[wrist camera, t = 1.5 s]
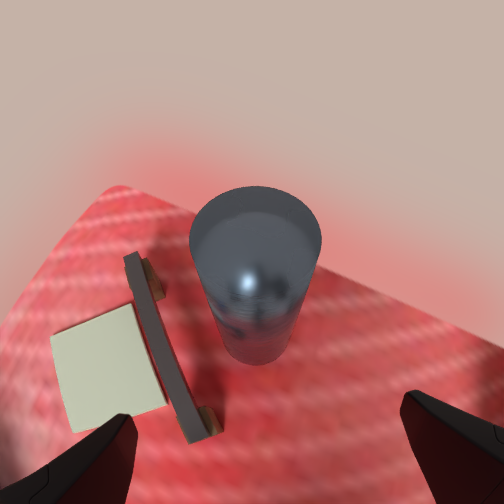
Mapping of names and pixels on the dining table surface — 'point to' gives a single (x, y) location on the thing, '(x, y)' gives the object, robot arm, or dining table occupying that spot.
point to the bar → (164, 352)
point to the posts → (158, 294)
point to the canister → (255, 267)
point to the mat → (105, 370)
